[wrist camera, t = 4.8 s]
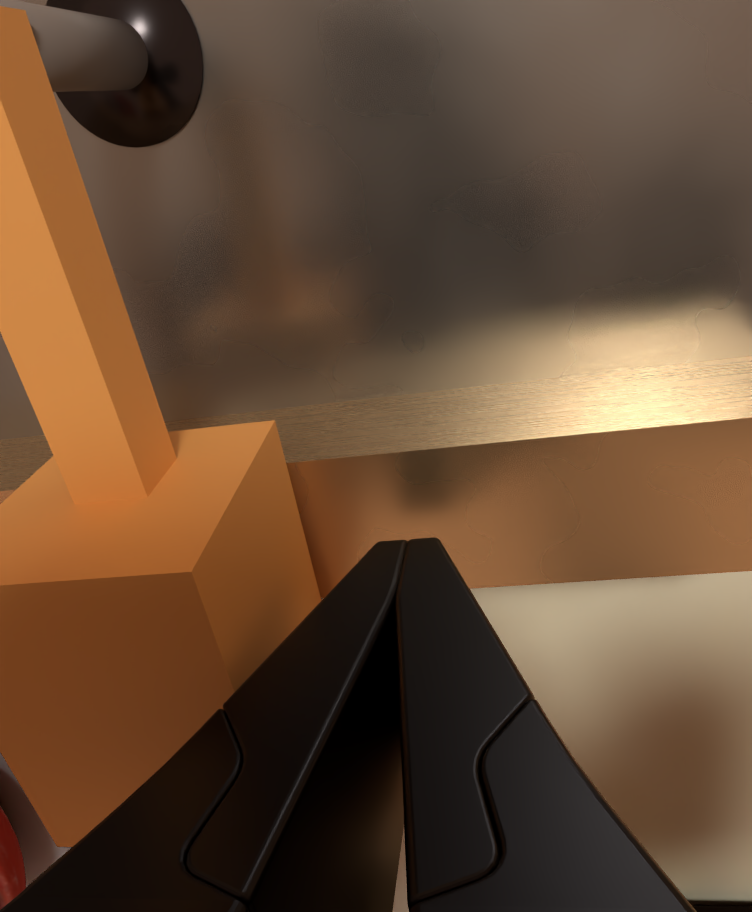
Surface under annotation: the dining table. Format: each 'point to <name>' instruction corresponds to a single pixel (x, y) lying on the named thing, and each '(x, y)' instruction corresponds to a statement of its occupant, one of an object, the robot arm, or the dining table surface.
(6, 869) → the plant pot
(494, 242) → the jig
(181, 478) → the orange block with bar
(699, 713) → the dining table surface
